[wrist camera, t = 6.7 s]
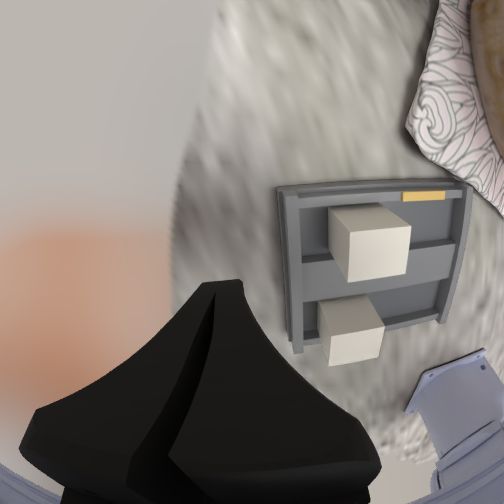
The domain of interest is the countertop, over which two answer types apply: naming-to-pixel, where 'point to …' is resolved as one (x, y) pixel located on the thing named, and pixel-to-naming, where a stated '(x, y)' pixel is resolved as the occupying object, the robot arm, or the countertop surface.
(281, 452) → the robot arm
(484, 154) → the cookie jar
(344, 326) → the tab
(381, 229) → the tab
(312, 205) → the tray
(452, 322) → the countertop surface
